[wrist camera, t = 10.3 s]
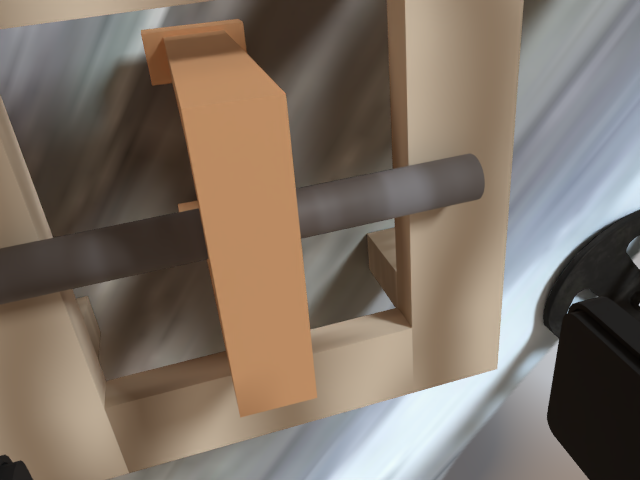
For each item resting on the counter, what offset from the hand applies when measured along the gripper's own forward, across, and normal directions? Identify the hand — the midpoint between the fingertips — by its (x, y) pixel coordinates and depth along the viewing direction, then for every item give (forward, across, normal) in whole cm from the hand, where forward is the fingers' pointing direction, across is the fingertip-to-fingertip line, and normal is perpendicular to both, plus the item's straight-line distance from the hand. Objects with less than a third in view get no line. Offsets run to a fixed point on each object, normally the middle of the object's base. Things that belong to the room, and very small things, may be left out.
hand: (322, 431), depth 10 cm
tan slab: (+19, 0, +1) cm, 19 cm away
